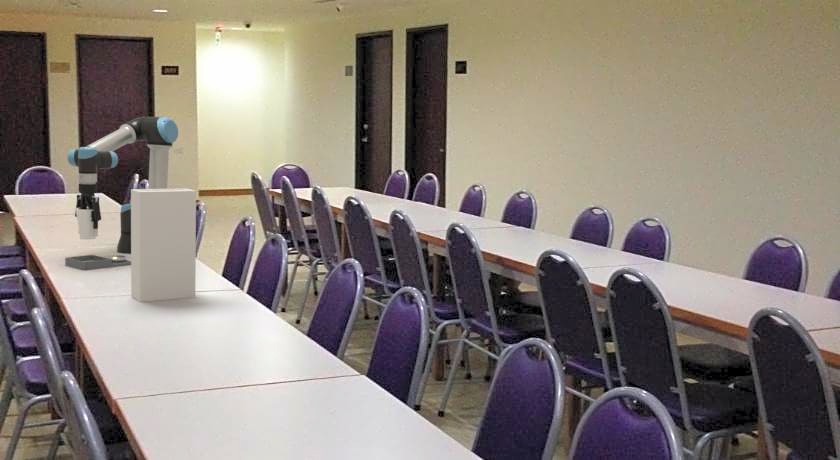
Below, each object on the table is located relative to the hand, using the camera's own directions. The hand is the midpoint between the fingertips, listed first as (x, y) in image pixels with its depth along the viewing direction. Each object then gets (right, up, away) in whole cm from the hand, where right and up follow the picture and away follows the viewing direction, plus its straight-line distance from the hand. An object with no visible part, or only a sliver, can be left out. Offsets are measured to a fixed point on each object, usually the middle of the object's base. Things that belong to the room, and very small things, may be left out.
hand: (88, 235), depth 412 cm
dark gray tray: (+3, -13, +6) cm, 15 cm away
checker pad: (+8, -11, +12) cm, 18 cm away
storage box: (+48, -23, -57) cm, 78 cm away
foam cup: (0, -2, 0) cm, 2 cm away
